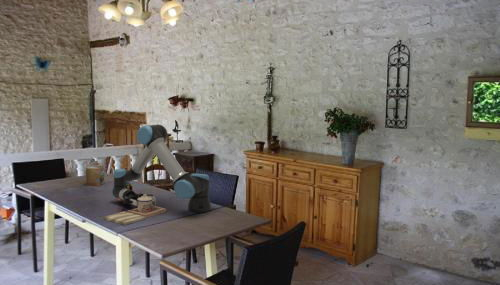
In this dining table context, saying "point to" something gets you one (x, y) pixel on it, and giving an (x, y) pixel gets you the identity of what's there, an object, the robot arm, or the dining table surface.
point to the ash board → (124, 218)
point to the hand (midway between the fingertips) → (146, 201)
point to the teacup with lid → (145, 204)
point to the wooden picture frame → (158, 211)
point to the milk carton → (95, 174)
